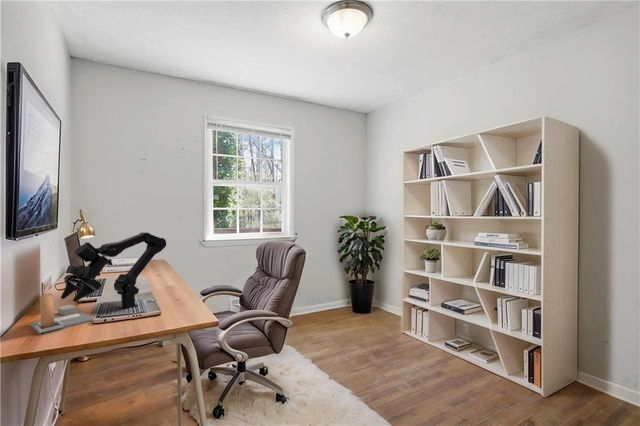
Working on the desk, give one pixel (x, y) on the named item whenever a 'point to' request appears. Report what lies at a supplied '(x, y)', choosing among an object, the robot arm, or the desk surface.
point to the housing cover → (67, 310)
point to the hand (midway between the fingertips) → (67, 299)
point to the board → (63, 322)
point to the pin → (47, 311)
